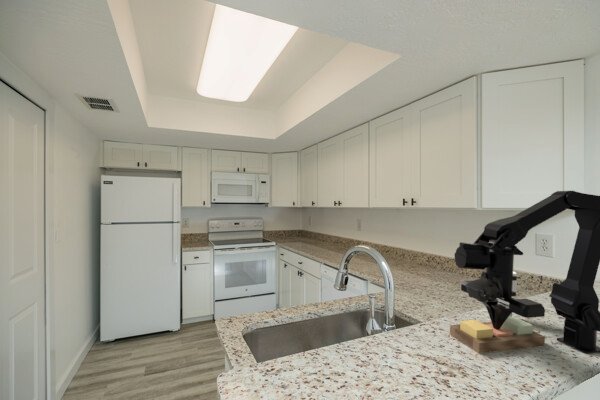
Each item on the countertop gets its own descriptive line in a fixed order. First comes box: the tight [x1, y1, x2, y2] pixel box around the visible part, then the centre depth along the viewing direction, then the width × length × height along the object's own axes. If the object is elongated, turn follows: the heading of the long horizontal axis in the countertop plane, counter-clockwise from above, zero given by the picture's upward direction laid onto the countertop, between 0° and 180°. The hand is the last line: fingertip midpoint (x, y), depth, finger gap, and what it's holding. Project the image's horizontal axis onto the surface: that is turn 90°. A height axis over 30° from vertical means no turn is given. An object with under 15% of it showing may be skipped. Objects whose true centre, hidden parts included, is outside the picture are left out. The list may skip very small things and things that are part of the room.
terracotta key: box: [485, 324, 513, 337], centre depth 70 cm, size 5×5×3 cm
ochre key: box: [460, 319, 493, 339], centre depth 69 cm, size 5×5×3 cm
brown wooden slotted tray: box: [449, 321, 546, 354], centre depth 70 cm, size 21×9×2 cm, turn 103°
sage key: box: [501, 316, 534, 335], centre depth 72 cm, size 5×5×3 cm
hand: (496, 328), depth 70 cm, fingers closed, pressing on terracotta key
